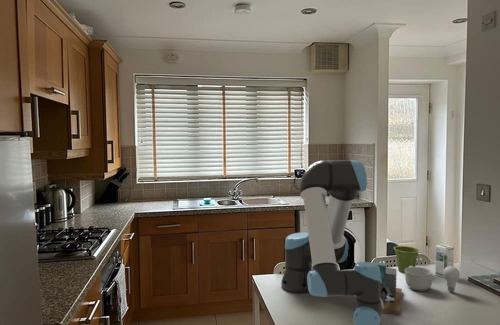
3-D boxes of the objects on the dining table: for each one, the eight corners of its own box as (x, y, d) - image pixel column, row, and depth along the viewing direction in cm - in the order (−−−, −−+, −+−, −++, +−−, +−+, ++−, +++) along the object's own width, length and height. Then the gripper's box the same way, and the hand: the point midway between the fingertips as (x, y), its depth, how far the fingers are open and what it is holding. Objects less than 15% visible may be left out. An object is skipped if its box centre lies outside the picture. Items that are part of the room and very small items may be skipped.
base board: (354, 307, 137) (354, 303, 137) (362, 286, 158) (362, 283, 158) (400, 314, 130) (400, 310, 130) (401, 292, 151) (401, 288, 151)
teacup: (435, 294, 149) (435, 275, 149) (407, 292, 151) (407, 273, 151) (425, 282, 163) (426, 264, 162) (400, 280, 165) (400, 263, 165)
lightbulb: (458, 290, 152) (458, 265, 152) (460, 296, 147) (460, 269, 146) (442, 288, 155) (442, 263, 154) (443, 293, 149) (443, 267, 149)
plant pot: (417, 277, 169) (417, 253, 169) (391, 272, 176) (391, 250, 175) (421, 270, 179) (421, 247, 179) (396, 266, 185) (396, 244, 185)
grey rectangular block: (363, 293, 146) (363, 270, 146) (366, 287, 153) (366, 265, 153) (395, 298, 141) (395, 274, 141) (396, 291, 148) (396, 268, 148)
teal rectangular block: (372, 294, 142) (372, 264, 142) (375, 282, 155) (375, 255, 154) (385, 296, 140) (385, 265, 139) (387, 284, 153) (387, 256, 152)
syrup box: (434, 275, 172) (434, 245, 171) (443, 273, 174) (443, 243, 174) (445, 278, 166) (445, 248, 166) (454, 277, 169) (454, 246, 168)
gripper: (352, 311, 122) (362, 289, 143) (393, 318, 116) (397, 294, 138) (352, 289, 122) (362, 270, 143) (393, 295, 116) (397, 274, 138)
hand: (379, 282), depth 140 cm, fingers closed
